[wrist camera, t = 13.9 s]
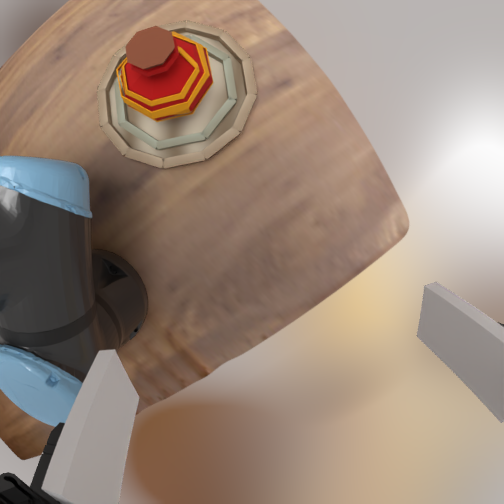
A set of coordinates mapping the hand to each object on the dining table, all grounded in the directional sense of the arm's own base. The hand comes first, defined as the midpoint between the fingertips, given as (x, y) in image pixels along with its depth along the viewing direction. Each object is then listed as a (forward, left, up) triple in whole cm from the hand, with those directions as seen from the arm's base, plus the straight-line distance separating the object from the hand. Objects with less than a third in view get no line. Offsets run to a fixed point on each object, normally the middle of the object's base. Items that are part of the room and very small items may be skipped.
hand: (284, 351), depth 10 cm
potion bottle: (-5, +18, -28) cm, 33 cm away
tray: (-5, +18, -29) cm, 34 cm away
